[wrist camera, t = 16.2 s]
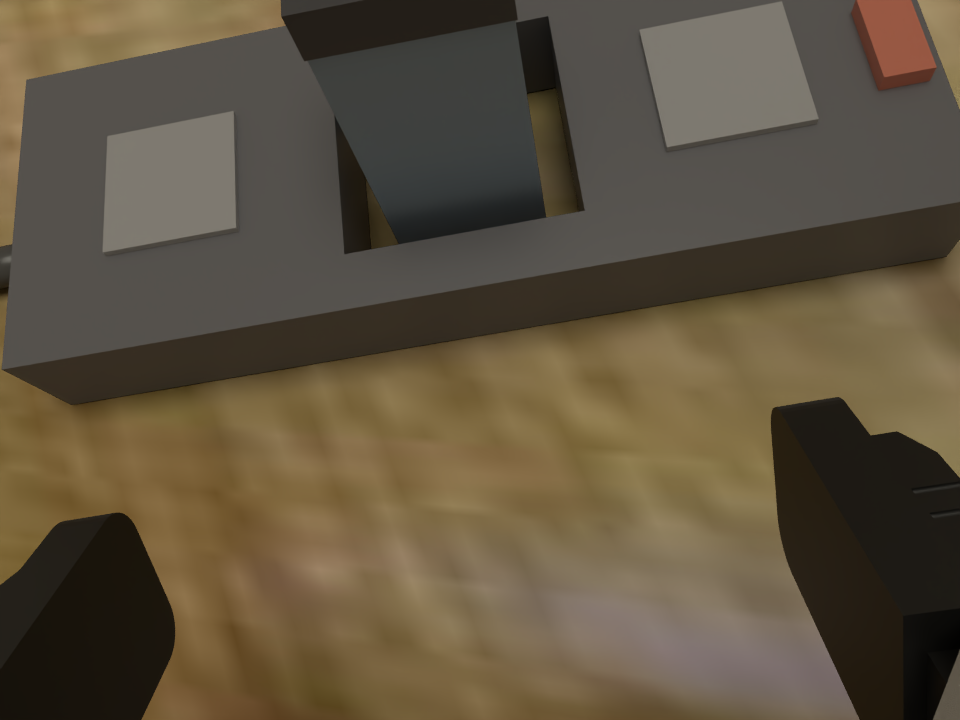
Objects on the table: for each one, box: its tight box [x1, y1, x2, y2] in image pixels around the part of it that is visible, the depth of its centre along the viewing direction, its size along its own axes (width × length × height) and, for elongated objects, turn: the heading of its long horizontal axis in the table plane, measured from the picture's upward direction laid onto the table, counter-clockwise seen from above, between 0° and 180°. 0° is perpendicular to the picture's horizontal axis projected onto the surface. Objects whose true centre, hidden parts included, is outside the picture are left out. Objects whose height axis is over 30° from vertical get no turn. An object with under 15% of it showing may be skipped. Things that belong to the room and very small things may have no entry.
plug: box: [281, 0, 546, 244], centre depth 21 cm, size 4×4×10 cm
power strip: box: [0, 0, 960, 405], centre depth 24 cm, size 28×9×4 cm, turn 97°
